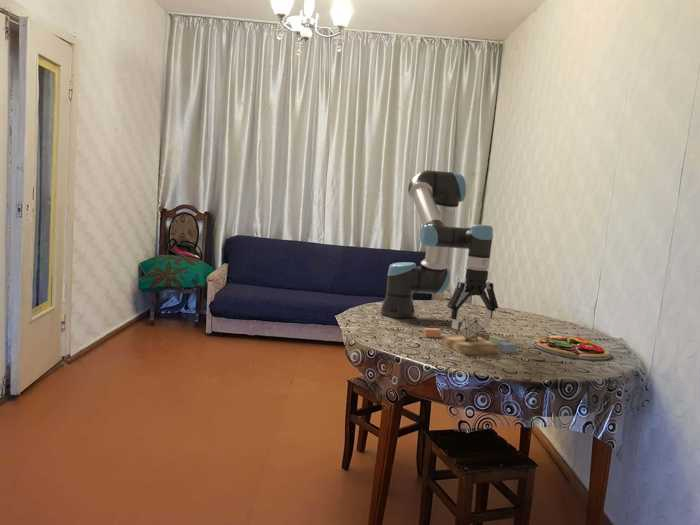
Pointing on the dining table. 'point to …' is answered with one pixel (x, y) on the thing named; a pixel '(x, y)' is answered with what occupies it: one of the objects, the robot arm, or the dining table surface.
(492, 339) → the sage brick
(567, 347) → the toy pizza
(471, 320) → the game die
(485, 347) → the oak block
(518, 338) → the dining table surface
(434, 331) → the terracotta brick
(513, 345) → the slate blue brick
